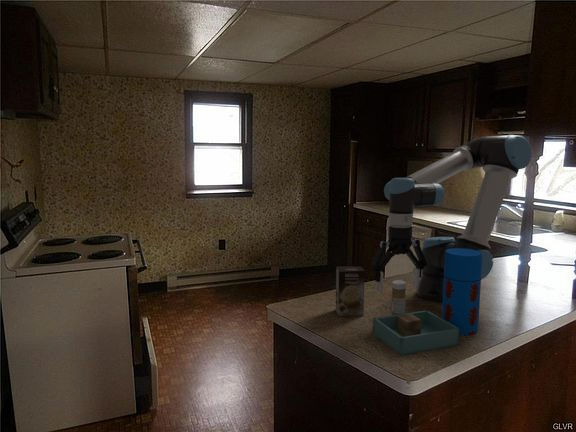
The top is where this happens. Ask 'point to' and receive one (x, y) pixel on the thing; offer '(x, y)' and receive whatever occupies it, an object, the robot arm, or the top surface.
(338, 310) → the coffee box
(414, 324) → the walnut cube
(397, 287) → the sprinkles bottle
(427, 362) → the top surface
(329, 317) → the top surface
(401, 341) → the tote
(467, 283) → the thermos
